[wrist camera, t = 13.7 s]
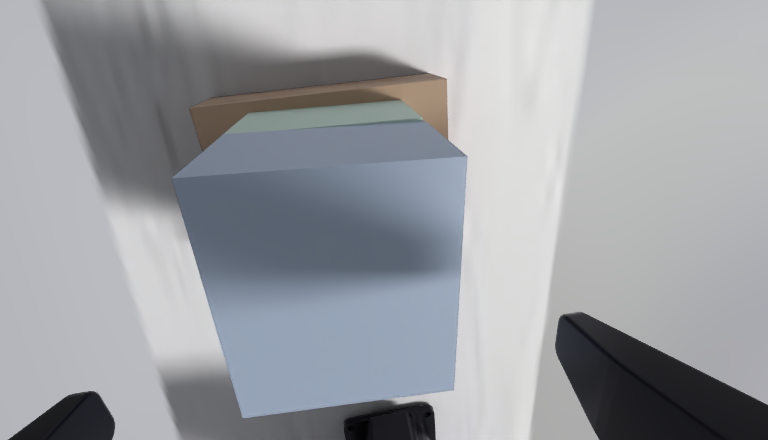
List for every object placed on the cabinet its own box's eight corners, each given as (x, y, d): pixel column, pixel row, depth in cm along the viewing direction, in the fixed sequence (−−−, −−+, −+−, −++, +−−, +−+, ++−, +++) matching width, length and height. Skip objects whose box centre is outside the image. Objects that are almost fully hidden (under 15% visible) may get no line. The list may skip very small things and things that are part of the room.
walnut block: (435, 224, 21) (450, 251, 18) (254, 250, 20) (243, 282, 18) (429, 73, 18) (446, 78, 15) (211, 97, 17) (189, 108, 14)
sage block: (407, 250, 18) (426, 302, 15) (281, 265, 18) (268, 322, 14) (401, 99, 15) (422, 117, 12) (248, 112, 15) (221, 135, 11)
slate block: (424, 304, 15) (453, 390, 11) (265, 322, 14) (242, 418, 10) (425, 121, 12) (467, 156, 8) (224, 134, 11) (171, 178, 7)
